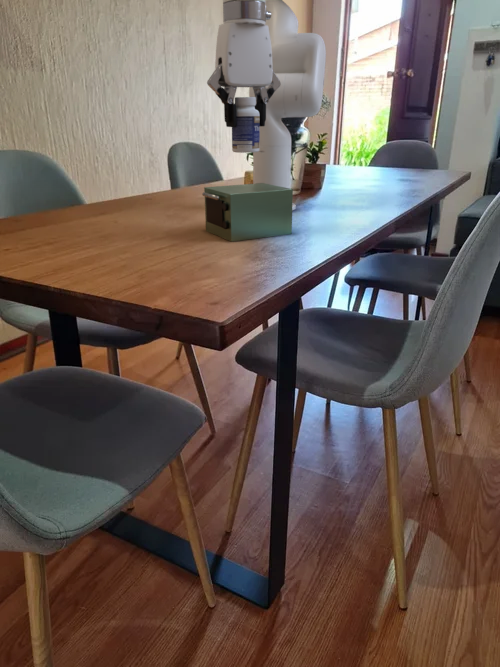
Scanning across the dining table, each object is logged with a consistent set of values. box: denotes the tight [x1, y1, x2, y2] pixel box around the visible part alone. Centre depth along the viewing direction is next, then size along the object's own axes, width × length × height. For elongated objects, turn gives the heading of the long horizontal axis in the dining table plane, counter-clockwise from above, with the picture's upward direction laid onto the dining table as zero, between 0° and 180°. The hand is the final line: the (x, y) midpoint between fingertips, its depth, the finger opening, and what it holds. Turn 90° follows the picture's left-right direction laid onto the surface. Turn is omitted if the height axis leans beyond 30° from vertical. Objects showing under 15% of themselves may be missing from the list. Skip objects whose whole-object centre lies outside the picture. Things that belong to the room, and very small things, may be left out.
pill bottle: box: [231, 96, 260, 154], centre depth 97 cm, size 5×5×10 cm
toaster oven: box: [202, 183, 294, 243], centre depth 105 cm, size 12×15×9 cm
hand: (245, 125), depth 98 cm, fingers closed on pill bottle, 5 cm apart
